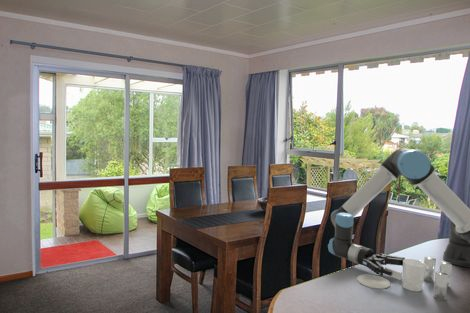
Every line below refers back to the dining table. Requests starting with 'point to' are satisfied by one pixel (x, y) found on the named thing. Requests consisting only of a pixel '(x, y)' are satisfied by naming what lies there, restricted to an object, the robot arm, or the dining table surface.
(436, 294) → the cylinder
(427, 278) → the cylinder
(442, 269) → the cylinder
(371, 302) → the dining table surface
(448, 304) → the dining table surface
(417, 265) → the white cup
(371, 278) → the coaster
